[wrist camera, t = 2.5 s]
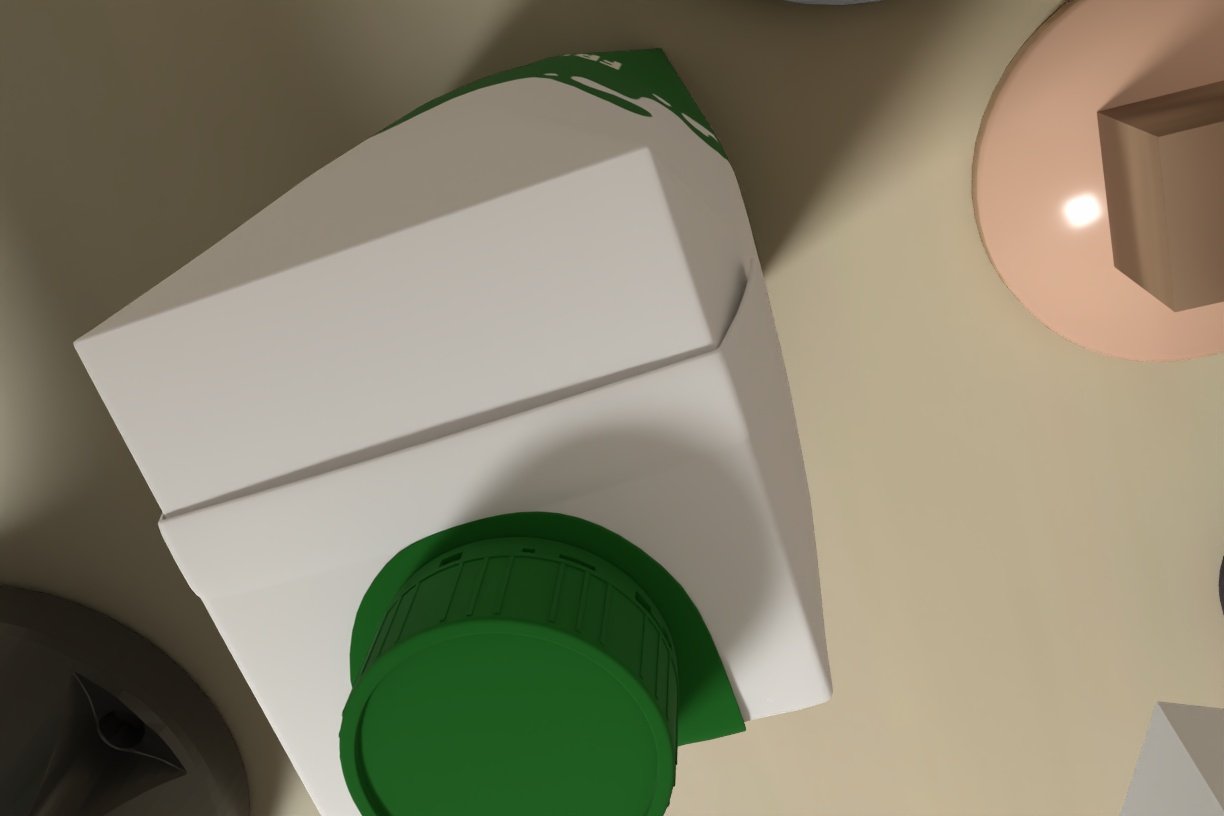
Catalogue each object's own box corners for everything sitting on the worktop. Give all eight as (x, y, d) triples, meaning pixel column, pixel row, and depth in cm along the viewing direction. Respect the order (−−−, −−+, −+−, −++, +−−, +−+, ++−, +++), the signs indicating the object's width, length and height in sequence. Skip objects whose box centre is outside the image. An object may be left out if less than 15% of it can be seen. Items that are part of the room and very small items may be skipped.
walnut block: (1113, 266, 30) (1175, 312, 26) (1096, 112, 29) (1158, 137, 25) (1277, 229, 29) (1363, 270, 26) (1267, 69, 28) (1357, 89, 24)
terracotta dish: (937, 327, 32) (946, 341, 31) (1017, -66, 28) (1032, -66, 27) (1304, 365, 32) (1326, 380, 31) (1434, -25, 28) (1464, -23, 27)
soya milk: (490, 412, 34) (256, 987, 15) (365, 108, 31) (-118, 361, 12) (785, 321, 32) (924, 836, 14) (684, -8, 29) (686, 80, 11)
